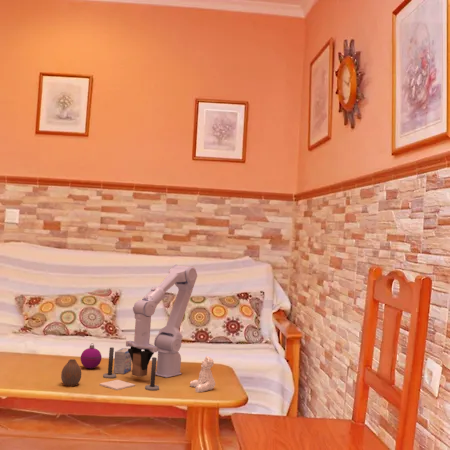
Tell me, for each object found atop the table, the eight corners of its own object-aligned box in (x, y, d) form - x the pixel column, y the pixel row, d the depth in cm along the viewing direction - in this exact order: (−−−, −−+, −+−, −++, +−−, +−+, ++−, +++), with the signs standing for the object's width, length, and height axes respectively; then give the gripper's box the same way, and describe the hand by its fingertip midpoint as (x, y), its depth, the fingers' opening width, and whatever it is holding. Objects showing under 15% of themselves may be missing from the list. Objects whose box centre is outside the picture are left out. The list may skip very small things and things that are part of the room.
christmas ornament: (79, 370, 221) (81, 344, 221) (79, 365, 229) (81, 341, 229) (100, 370, 223) (102, 345, 223) (100, 366, 231) (102, 341, 231)
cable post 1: (110, 374, 218) (112, 346, 218) (119, 377, 215) (121, 348, 215) (100, 376, 213) (102, 347, 214) (109, 379, 211) (111, 349, 211)
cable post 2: (151, 386, 205) (154, 355, 205) (162, 389, 202) (164, 358, 202) (142, 388, 201) (144, 357, 201) (152, 391, 198) (154, 359, 198)
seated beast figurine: (188, 385, 209) (190, 353, 209) (210, 385, 212) (212, 353, 212) (196, 392, 200) (198, 358, 200) (218, 392, 203) (221, 358, 203)
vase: (62, 387, 194) (64, 362, 195) (58, 382, 200) (60, 358, 201) (82, 386, 198) (84, 361, 198) (78, 381, 204) (79, 357, 204)
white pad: (117, 380, 209) (117, 379, 209) (135, 385, 203) (135, 384, 203) (99, 384, 201) (99, 383, 201) (116, 390, 196) (116, 388, 196)
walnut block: (139, 373, 214) (140, 352, 214) (146, 375, 212) (148, 353, 212) (131, 374, 211) (133, 353, 211) (139, 376, 209) (141, 355, 209)
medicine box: (123, 374, 219) (125, 352, 219) (113, 373, 220) (114, 351, 220) (131, 370, 227) (132, 348, 227) (120, 369, 228) (122, 347, 228)
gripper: (121, 330, 213) (118, 366, 212) (149, 336, 204) (146, 373, 204) (134, 328, 219) (131, 363, 218) (162, 334, 210) (159, 370, 210)
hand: (139, 368), depth 211 cm, fingers closed on walnut block, 4 cm apart
